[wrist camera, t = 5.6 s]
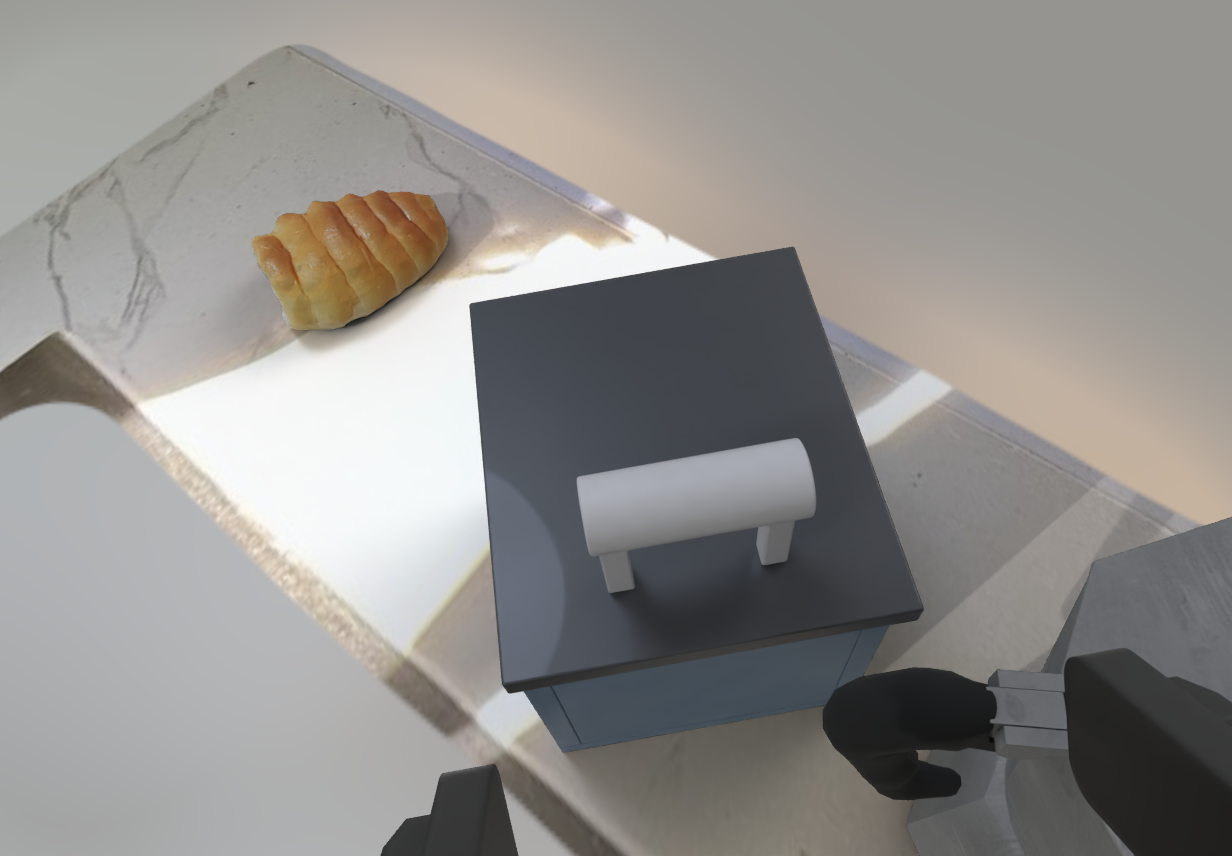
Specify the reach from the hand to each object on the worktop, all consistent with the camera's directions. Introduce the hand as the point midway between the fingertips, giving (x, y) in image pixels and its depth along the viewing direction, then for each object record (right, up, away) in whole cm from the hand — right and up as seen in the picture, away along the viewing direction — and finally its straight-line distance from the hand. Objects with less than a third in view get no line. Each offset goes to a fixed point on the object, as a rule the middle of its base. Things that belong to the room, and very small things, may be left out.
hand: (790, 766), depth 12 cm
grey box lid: (-1, +4, +14) cm, 14 cm away
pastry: (-16, +12, +33) cm, 39 cm away
